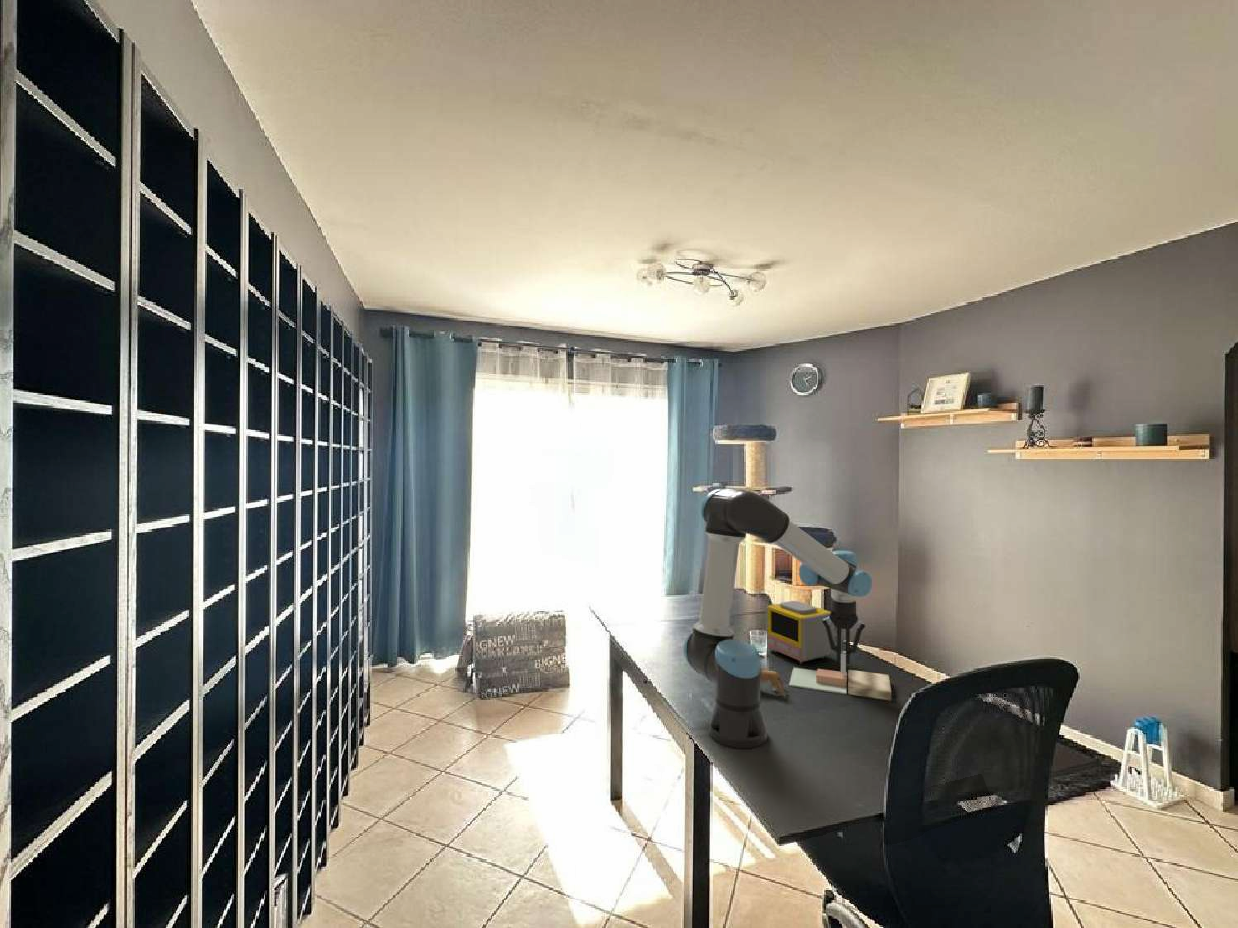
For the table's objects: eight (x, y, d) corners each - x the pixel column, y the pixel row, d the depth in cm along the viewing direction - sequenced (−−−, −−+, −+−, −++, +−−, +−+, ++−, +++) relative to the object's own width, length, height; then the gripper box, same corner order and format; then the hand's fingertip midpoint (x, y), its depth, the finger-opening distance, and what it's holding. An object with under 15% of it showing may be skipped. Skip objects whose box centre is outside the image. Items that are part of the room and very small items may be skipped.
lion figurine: (739, 690, 177) (739, 662, 176) (742, 684, 182) (742, 656, 181) (788, 698, 171) (788, 668, 171) (789, 691, 176) (789, 662, 176)
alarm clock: (763, 650, 212) (763, 601, 212) (795, 643, 219) (795, 596, 219) (802, 668, 195) (802, 615, 194) (835, 659, 202) (835, 608, 201)
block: (816, 682, 181) (816, 675, 181) (817, 675, 187) (817, 668, 187) (846, 686, 178) (846, 679, 178) (846, 679, 183) (846, 672, 183)
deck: (848, 694, 174) (848, 686, 174) (848, 676, 187) (848, 669, 187) (891, 700, 169) (891, 692, 169) (888, 682, 182) (888, 674, 182)
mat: (789, 685, 180) (789, 684, 180) (793, 668, 194) (793, 667, 194) (846, 694, 173) (846, 692, 173) (846, 676, 187) (846, 674, 187)
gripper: (821, 600, 179) (821, 673, 180) (866, 604, 174) (865, 680, 175) (822, 594, 186) (822, 665, 187) (865, 598, 181) (865, 671, 182)
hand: (843, 672), depth 181 cm, fingers closed
